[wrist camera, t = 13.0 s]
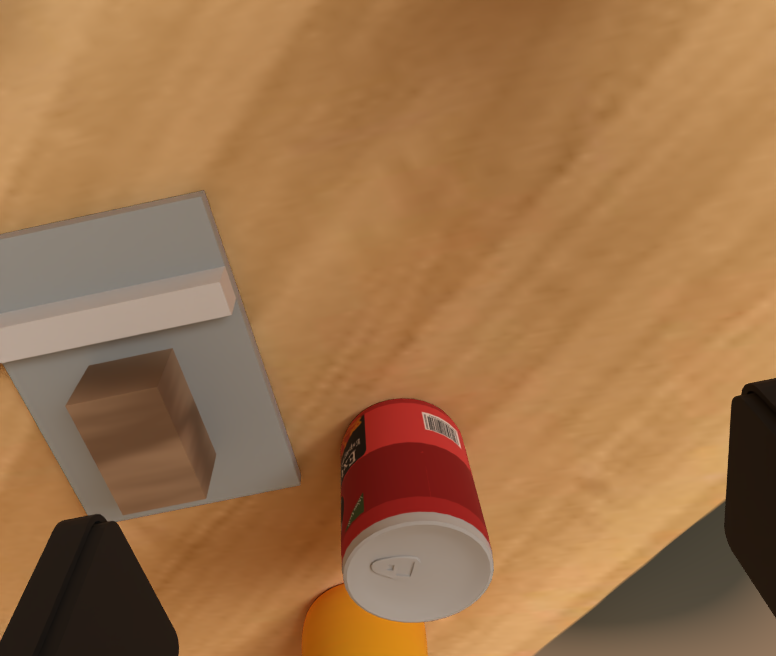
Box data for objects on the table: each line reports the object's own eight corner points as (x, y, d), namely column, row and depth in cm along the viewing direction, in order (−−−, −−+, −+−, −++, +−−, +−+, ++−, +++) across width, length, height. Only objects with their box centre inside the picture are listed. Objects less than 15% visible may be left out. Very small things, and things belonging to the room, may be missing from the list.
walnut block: (65, 405, 37) (124, 517, 41) (157, 387, 36) (207, 500, 40) (88, 365, 40) (140, 471, 44) (172, 348, 40) (217, 456, 44)
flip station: (-51, 245, 37) (-80, 268, 34) (204, 190, 37) (194, 209, 34) (98, 515, 47) (84, 549, 44) (301, 474, 46) (299, 506, 44)
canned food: (333, 401, 44) (333, 530, 34) (459, 387, 44) (495, 512, 34) (346, 492, 47) (350, 632, 38) (463, 480, 48) (495, 616, 38)
